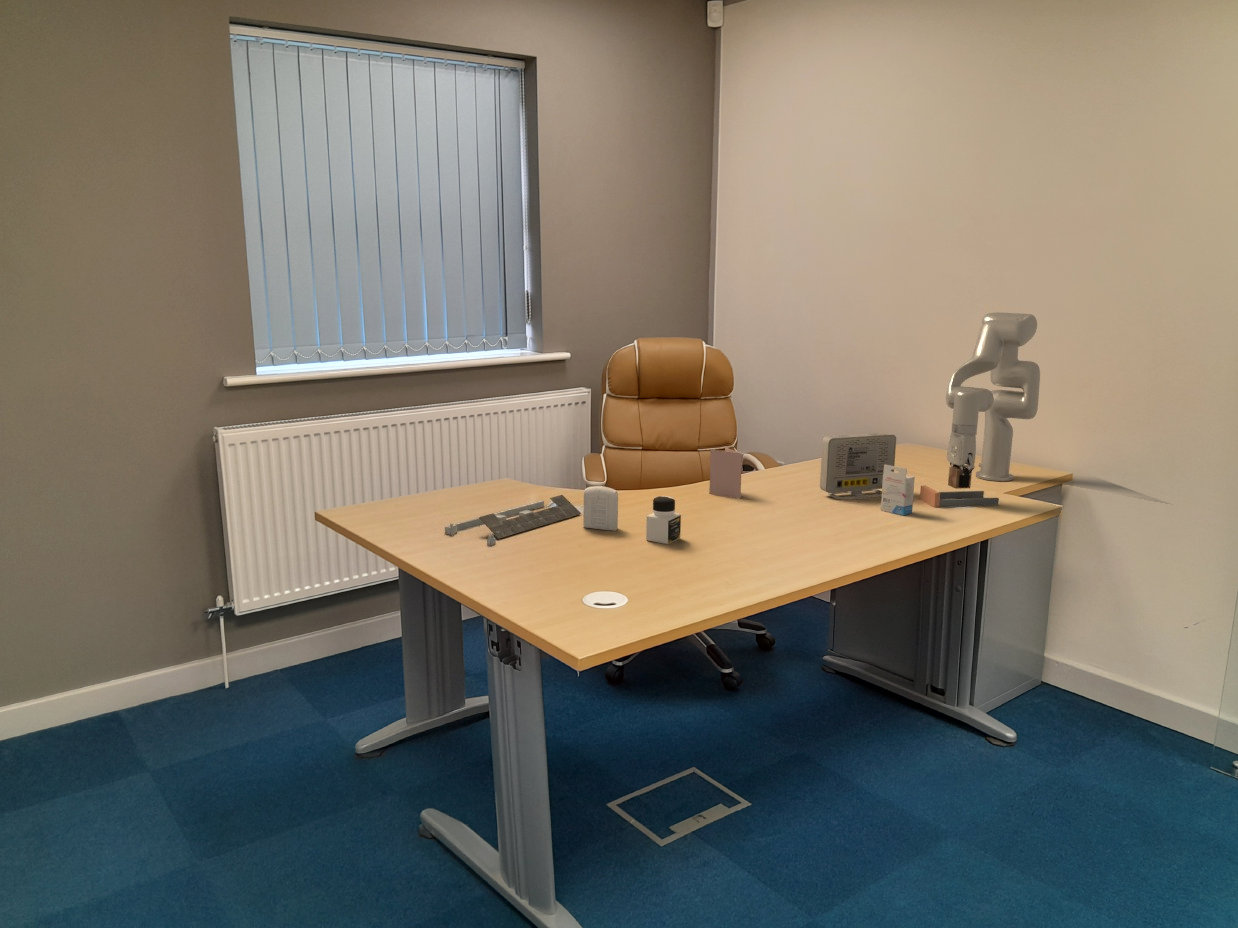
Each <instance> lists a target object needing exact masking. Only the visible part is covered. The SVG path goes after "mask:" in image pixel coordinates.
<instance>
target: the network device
mask: <svg viewBox="0 0 1238 928" xmlns="http://www.w3.org/2000/svg"><path fill="white" fill-rule="evenodd" d="M821 443H822V444H821V460H820V477H819V478H820V480H819V488H820V490H821V491H823V492H826V493H827V495H828V496H829V497H831V498H834V499H837V500H855V499H866V498H876V497H877V498H878V497H879V496H880V497H882V484H883V474H884V465H890V466H895V463H896V460H895V459H896V451H897V450H896V448H897V447H896V446H897V437H896V435H895V434H892V433H889V432H877V433H876V432H875V433H874V432H873V433H861V434H860V433H859V434H857V433H856V434H844V435H843V434H842V435H829V436H828V435H827V436H824V437H823V439H822V442H821ZM891 471H892V472H895V469H894V470H891ZM874 491H875V492H874ZM863 492H874V493H876V494H873V493H872V494H865V493H863ZM836 494H849V495H850V496H839V495H836Z"/></svg>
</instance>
